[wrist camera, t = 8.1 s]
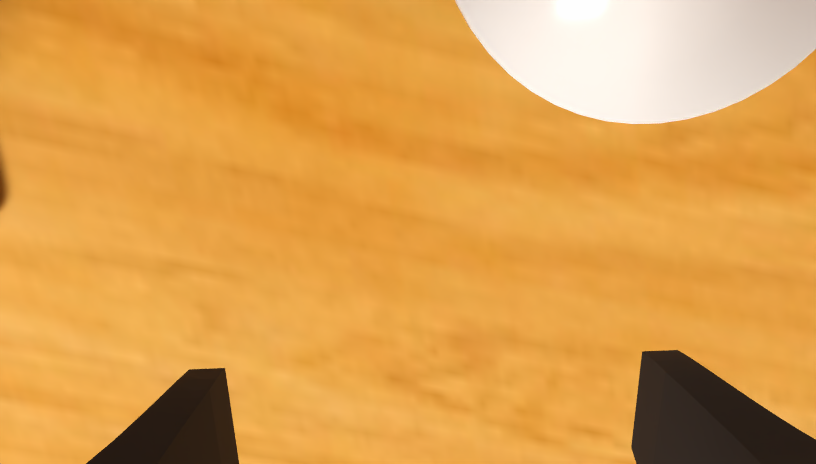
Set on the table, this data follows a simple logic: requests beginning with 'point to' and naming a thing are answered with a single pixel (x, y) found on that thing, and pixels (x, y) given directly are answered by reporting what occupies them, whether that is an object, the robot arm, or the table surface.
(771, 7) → the lid
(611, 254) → the table surface
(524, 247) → the table surface
